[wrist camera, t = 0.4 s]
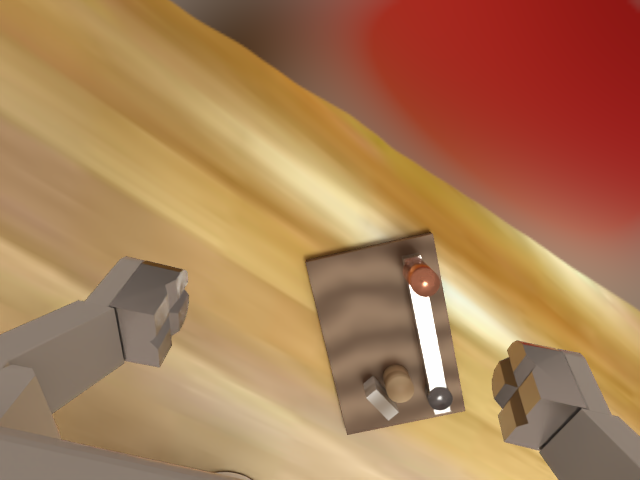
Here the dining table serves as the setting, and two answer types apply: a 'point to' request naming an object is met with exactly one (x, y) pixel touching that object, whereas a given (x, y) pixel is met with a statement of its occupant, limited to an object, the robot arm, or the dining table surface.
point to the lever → (427, 329)
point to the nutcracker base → (379, 331)
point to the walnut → (398, 383)
